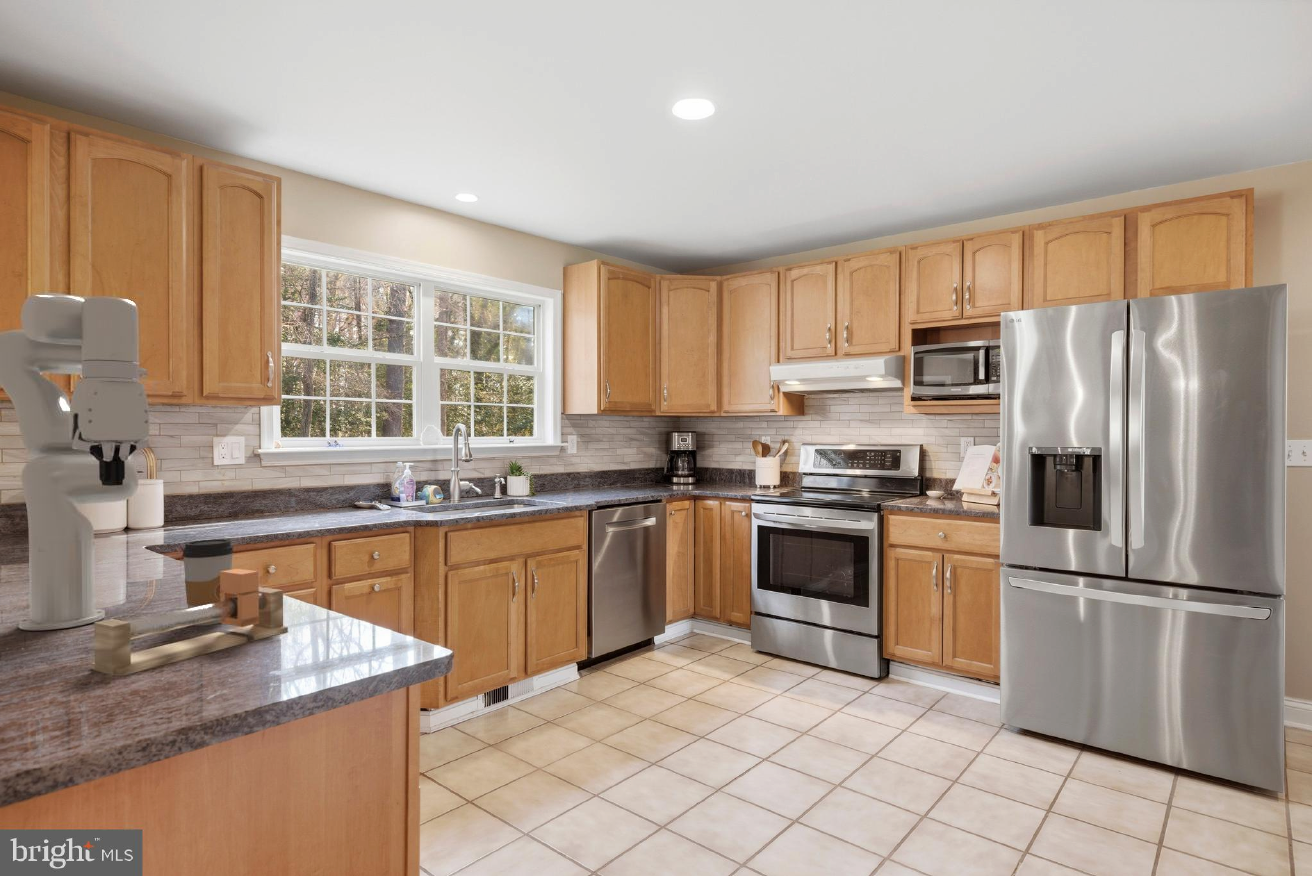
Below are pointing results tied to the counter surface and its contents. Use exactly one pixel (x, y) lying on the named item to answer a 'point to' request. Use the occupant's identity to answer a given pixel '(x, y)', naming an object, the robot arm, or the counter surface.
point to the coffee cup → (205, 571)
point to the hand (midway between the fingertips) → (112, 485)
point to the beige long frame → (117, 642)
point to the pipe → (187, 617)
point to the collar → (241, 595)
